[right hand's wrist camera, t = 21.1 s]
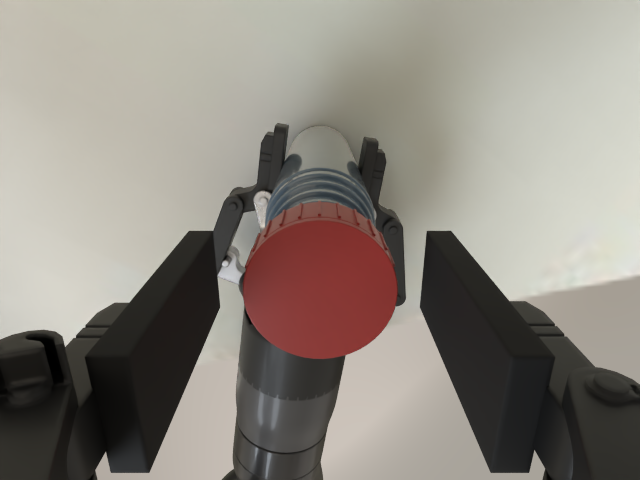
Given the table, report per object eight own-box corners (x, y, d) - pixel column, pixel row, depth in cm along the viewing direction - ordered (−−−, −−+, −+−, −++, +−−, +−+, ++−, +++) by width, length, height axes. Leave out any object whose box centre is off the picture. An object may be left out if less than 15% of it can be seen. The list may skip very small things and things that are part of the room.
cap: (335, 349, 16) (337, 384, 14) (223, 281, 15) (210, 310, 13) (418, 251, 14) (432, 277, 12) (301, 170, 13) (299, 186, 12)
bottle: (363, 163, 33) (427, 295, 14) (314, 199, 34) (306, 372, 15) (326, 112, 32) (336, 175, 12) (276, 151, 33) (210, 268, 13)
